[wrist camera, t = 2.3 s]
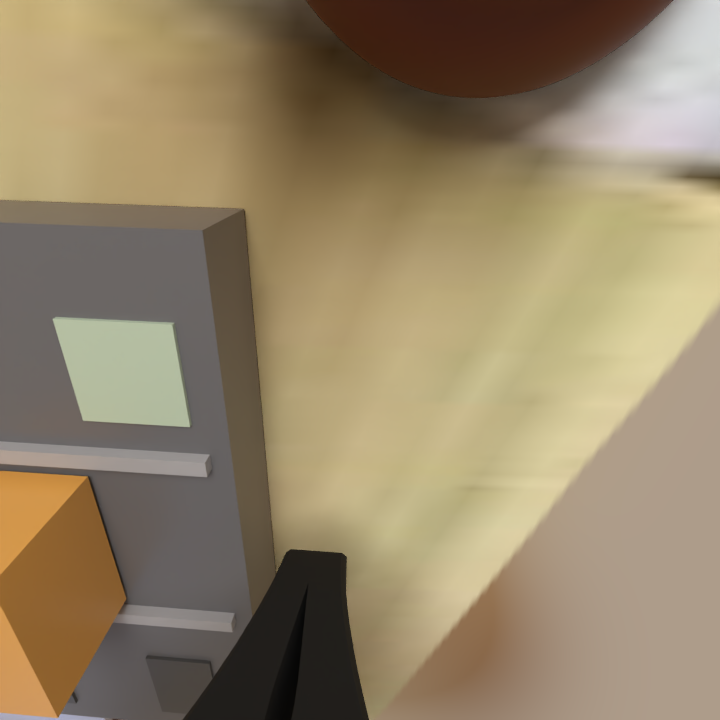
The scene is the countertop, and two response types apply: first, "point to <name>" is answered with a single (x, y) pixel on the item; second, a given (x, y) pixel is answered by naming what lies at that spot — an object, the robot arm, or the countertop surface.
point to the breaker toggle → (51, 589)
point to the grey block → (144, 426)
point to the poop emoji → (484, 39)
